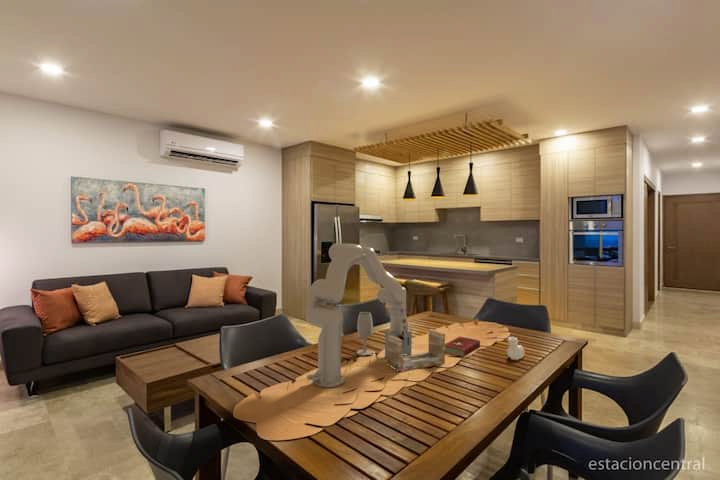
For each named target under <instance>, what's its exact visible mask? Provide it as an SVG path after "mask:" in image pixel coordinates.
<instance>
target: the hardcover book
mask: <svg viewBox="0 0 720 480" xmlns="http://www.w3.org/2000/svg"><path fill="white" fill-rule="evenodd" d="M480 347H481V340H480V339H477V338H476V339H475V338H472V337H471V338H469V337H465V336H457V337H455V338H454V339H452V340H450V341H448V342H445V353H447V352H449V354H452V353H453V355H456V354H457V356H462V357H465V356H467V355H469V354H470V353H472V352H473V351H475V350H477V349H478V348H480ZM476 348H477V349H476ZM468 353H469V354H468Z"/></svg>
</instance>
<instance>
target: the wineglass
mask: <svg viewBox="0 0 720 480" xmlns="http://www.w3.org/2000/svg"><path fill="white" fill-rule="evenodd" d="M356 329H357V335H359V337H360V338H361V339H362V340H363V349H358V350H357V351H356V354H357V355H358V356H361V357H367V356H366V355H370V356H372V355H373V354H374V351H373V350H371V349H367V339H369V338H370V337H371V336H372V334H373V330H374V322H373V316H372V313H371V312H370V311H360V312H359V314H358V316H357V324H356ZM372 353H373V354H372ZM371 354H372V355H371Z"/></svg>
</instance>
